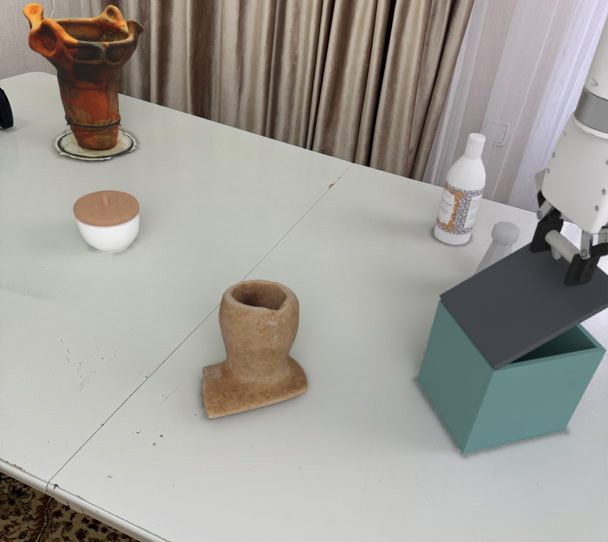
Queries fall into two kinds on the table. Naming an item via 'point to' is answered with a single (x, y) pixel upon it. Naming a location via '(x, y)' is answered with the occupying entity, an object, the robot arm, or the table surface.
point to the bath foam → (462, 194)
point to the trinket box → (108, 219)
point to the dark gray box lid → (524, 301)
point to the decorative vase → (87, 76)
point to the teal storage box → (505, 384)
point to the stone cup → (255, 350)
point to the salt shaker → (499, 244)
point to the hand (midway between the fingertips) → (558, 265)
